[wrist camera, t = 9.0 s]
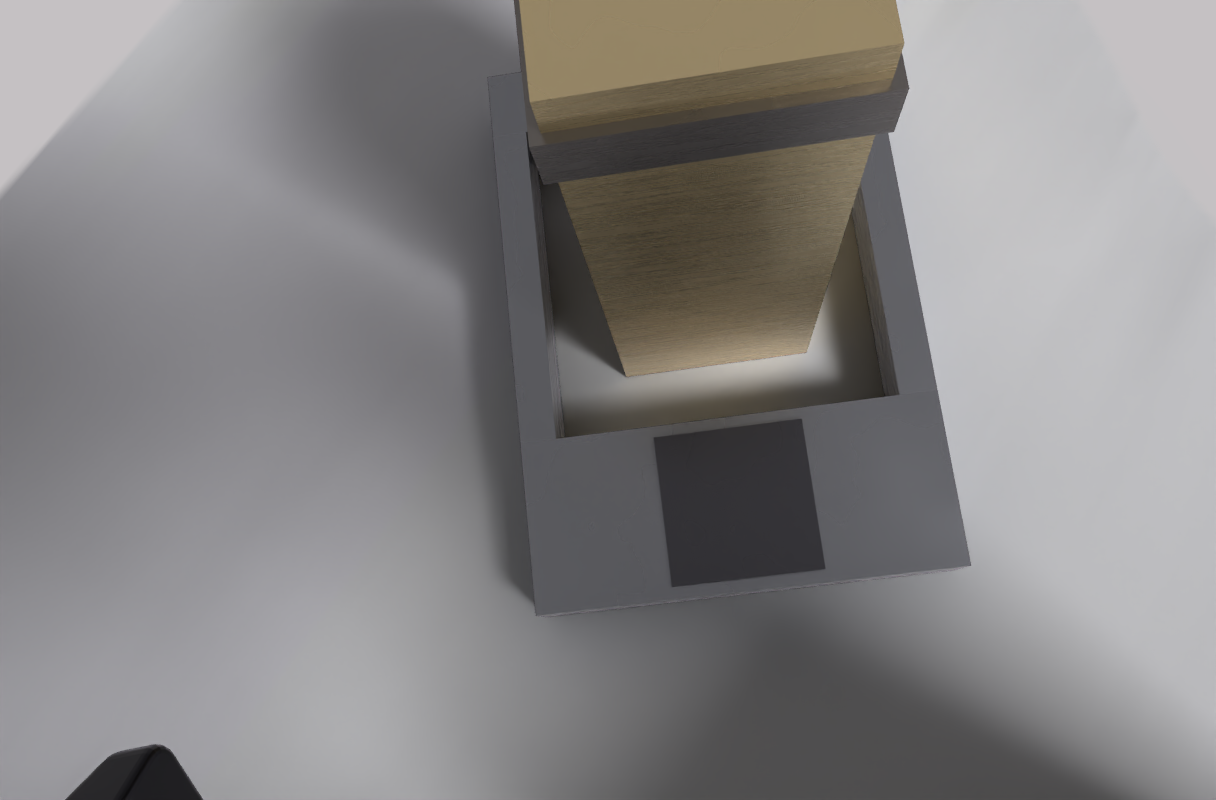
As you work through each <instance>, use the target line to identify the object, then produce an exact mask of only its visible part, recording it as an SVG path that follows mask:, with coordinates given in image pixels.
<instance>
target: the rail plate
mask: <svg viewBox="0 0 1216 800" xmlns="http://www.w3.org/2000/svg"><path fill="white" fill-rule="evenodd" d="M488 88H489V99H490V110H491V122H492V133H493V144H494V155H495V166H496V177H497V189H498V200H499V211H500V222H501V233H502V244H503V255H504V267H505V278H506V289H507V300H508V311H509V322H510V334H511V345H512V356H513V367H514V378H515V389H516V401H517V412H518V423H519V434H520V445H521V456H522V468H523V479H524V490H525V501H526V512H527V523H528V535H529V546H530V557H531V568H532V579H533V590H534V602H535V613H536V616H544V617H552V616H560V615H569V614H578V613H586V612H595V611H604V610H613V609H621V608H630V607H639V606H647V605H656V604H665V603H674V602H682V601H691V600H700V599H709V598H717V597H726V596H735V595H743V594H752V593H761V592H770V591H778V590H787V589H796V588H804V587H813V586H822V585H831V584H839V583H848V582H857V581H866V580H874V579H883V578H892V577H900V576H909V575H918V574H927V573H935V572H944V571H953V570H957V569H960V568H964V567H968V566H971V562H970V557H969V552H968V547H967V541H966V536H965V531H964V526H963V521H962V515H961V510H960V505H959V500H958V495H957V489H956V484H955V479H954V474H953V469H952V463H951V458H950V453H949V448H948V443H947V437H946V432H945V427H944V422H943V417H942V411H941V406H940V401H939V396H938V391H937V385H936V380H935V375H934V370H933V365H932V359H931V354H930V349H929V344H928V339H927V333H926V328H925V323H924V318H923V313H922V307H921V302H920V297H919V292H918V286H917V281H916V276H915V271H914V266H913V260H912V255H911V250H910V245H909V240H908V234H907V229H906V224H905V219H904V214H903V208H902V203H901V198H900V193H899V188H898V182H897V177H896V172H895V167H894V162H893V156H892V151H891V146H890V141H889V136H888V133H883V134H876V135H875V137H874V140H873V144H872V147H871V150H870V153H869V156H868V159H867V163H866V166H865V169H864V172H863V175H862V178H861V182H860V185H859V188H858V191H857V194H856V197H855V201H854V204H853V207H852V210H851V211H852V217H853V222H854V228H855V233H856V239H857V245H858V250H859V256H860V261H861V267H862V272H863V278H864V284H865V289H866V295H867V300H868V306H869V312H870V317H871V323H872V328H873V334H874V339H875V345H876V351H877V356H878V362H879V367H880V373H881V379H882V384H883V390H884V395H885V397H878V398H871V399H863V400H855V401H847V402H839V403H832V404H824V405H816V406H808V407H801V408H793V409H785V410H777V411H769V412H762V413H754V414H746V415H738V416H730V417H723V418H715V419H707V420H699V421H691V422H684V423H676V424H668V425H660V426H652V427H645V428H637V429H629V430H621V431H613V432H606V433H598V434H590V435H582V436H575V437H567V438H565V431H564V421H563V411H562V401H561V391H560V381H559V371H558V361H557V351H556V341H555V331H554V321H553V311H552V301H551V292H550V282H549V272H548V262H547V252H546V242H545V232H544V222H543V212H542V202H541V192H540V182H539V172H538V169H537V166H536V164H535V161H534V159H533V156H532V153H531V151H530V148H529V142H528V132H527V122H526V112H525V103H524V93H523V83H522V73H521V72H518V73H512V74H505V75H499V76H492V77H488Z"/></svg>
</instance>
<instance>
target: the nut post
mask: <svg viewBox="0 0 1216 800" xmlns="http://www.w3.org/2000/svg"><path fill="white" fill-rule="evenodd" d="M514 5H515V15H516V25H517V34H518V44H519V54H520V64H521V73H522V83H523V93H524V103H525V112H526V122H527V132H528V142H529V148H530V151H531V153H532V156H533V159H534V161H535V164H536V166H537V169H538V172H539V174H540V177H541V179H542V182H543V185H547V184H553V183H558V184H559V187H560V190H561V192H562V195H563V198H564V201H565V204H566V207H567V209H568V212H569V215H570V218H571V221H572V224H573V226H574V229H575V232H576V235H577V238H578V241H579V243H580V246H581V249H582V252H583V255H584V258H585V260H586V263H587V266H588V269H589V272H590V275H591V277H592V280H593V283H594V286H595V289H596V292H597V294H598V297H599V300H600V303H601V306H602V309H603V312H604V314H605V317H606V320H607V323H608V326H609V329H610V331H611V334H612V337H613V340H614V343H615V346H616V348H617V351H618V354H619V357H620V360H621V363H622V365H623V368H624V371H625V374H626V377H630V376H637V375H645V374H652V373H660V372H667V371H674V370H682V369H689V368H696V367H704V366H711V365H718V364H726V363H733V362H740V361H748V360H755V359H762V358H770V357H777V356H785V355H792V354H799V353H806V352H807V349H808V346H809V343H810V340H811V337H812V333H813V330H814V327H815V324H816V321H817V318H818V314H819V311H820V308H821V305H822V302H823V299H824V295H825V292H826V289H827V286H828V283H829V280H830V276H831V273H832V270H833V267H834V264H835V261H836V257H837V254H838V251H839V248H840V245H841V242H842V239H843V235H844V232H845V229H846V226H847V223H848V220H849V216H850V213H851V210H852V207H853V204H854V201H855V197H856V194H857V191H858V188H859V185H860V182H861V178H862V175H863V172H864V169H865V166H866V163H867V159H868V156H869V153H870V150H871V147H872V144H873V140H874V137H875V135H876V134H883V133H890V132H894V130H895V127H896V124H897V122H898V119H899V116H900V113H901V110H902V107H903V104H904V102H905V99H906V96H907V93H908V90H909V85H908V81H907V76H906V71H905V66H904V61H903V56H902V49H903V46H904V39H903V34H902V29H901V24H900V19H899V15H898V10H897V5H896V0H514Z"/></svg>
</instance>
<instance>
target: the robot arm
mask: <svg viewBox="0 0 1216 800" xmlns="http://www.w3.org/2000/svg"><path fill="white" fill-rule="evenodd" d="M65 800H203V799H202V797H201V796H200V794H199V792H198V791H197V789H196V788H195V786H194V785H193V783H192V782H191V780H190V779H189V777H188V776H187V774H186V772H185V771H184V769H183V768H182V766H181V765H180V763H179V762H178V760H177V759H176V757H175V756H174V754H173V753H172V752H171V750H170V749H168V748H166V747H165V746H163V745H156V744H154V745H149V746H144V747H139V748H134V749H129V750H124V751H120V752H117V753H114V754H112V755H111V756H109V757H108V758H107V759H106V760H105V761H104V762H102V763H101V764H100V765H99V766H98V767H97V768H96V769H95V770H94V771H93V772H92V773H91V774H90V775H89V776H88V777H87V778H86V779H85V780H84V781H83V782H82V783H81V784H80V785H79V786H78V787H77V788H76V789H75V790H74V791H73V792H72V793H71V794H70V795H69V796H68V797H67V798H66V799H65Z"/></svg>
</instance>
